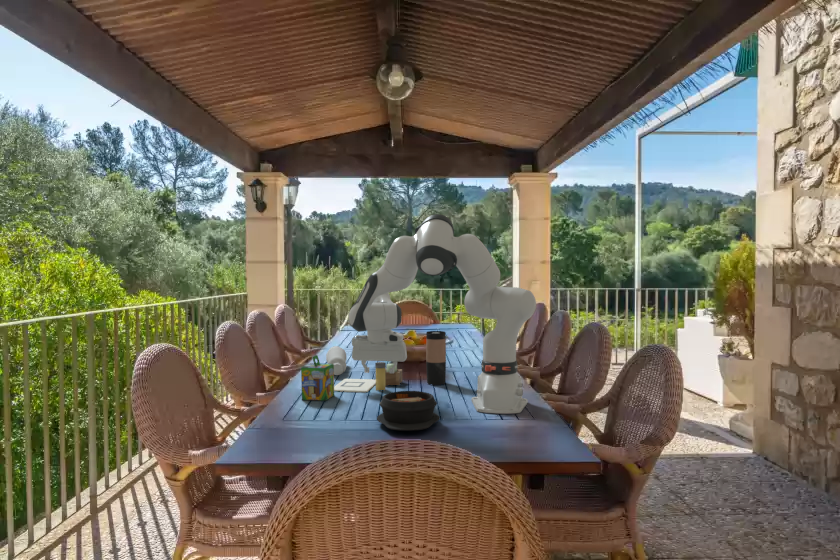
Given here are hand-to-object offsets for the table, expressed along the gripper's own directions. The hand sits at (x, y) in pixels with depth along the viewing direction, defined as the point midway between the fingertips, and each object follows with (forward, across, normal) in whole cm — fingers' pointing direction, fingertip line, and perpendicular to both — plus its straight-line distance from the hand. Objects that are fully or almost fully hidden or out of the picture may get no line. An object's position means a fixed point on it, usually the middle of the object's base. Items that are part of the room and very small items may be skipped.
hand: (379, 372), depth 220 cm
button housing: (+6, +2, +12) cm, 13 cm away
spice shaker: (+6, 0, +1) cm, 6 cm away
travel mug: (+6, +20, +14) cm, 25 cm away
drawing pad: (+6, -11, +6) cm, 14 cm away
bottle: (+7, -26, +33) cm, 43 cm away
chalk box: (+7, -19, -14) cm, 25 cm away
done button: (+5, +2, +12) cm, 13 cm away
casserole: (+7, +18, -43) cm, 47 cm away
